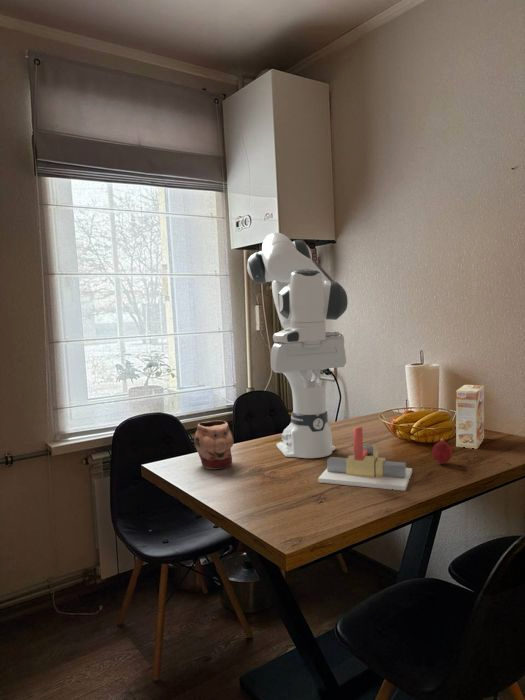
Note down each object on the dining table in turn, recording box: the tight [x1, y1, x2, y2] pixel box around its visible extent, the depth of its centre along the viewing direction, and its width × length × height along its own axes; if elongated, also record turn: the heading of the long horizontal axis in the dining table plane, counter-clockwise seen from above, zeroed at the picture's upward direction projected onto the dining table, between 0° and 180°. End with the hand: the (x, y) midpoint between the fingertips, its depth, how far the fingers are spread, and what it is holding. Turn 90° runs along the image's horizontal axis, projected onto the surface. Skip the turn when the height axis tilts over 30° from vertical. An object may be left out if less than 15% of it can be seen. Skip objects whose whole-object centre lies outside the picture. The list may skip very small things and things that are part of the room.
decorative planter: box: [193, 420, 235, 470], centre depth 168 cm, size 20×12×14 cm, turn 28°
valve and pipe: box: [326, 449, 407, 478], centre depth 150 cm, size 22×6×7 cm, turn 68°
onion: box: [431, 437, 453, 465], centre depth 159 cm, size 6×6×8 cm
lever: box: [352, 426, 374, 461], centre depth 145 cm, size 13×4×9 cm, turn 158°
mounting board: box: [317, 467, 413, 492], centre depth 150 cm, size 24×16×1 cm, turn 68°
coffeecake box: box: [455, 384, 485, 450], centre depth 181 cm, size 15×7×20 cm, turn 148°
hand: (309, 387), depth 134 cm, fingers closed
